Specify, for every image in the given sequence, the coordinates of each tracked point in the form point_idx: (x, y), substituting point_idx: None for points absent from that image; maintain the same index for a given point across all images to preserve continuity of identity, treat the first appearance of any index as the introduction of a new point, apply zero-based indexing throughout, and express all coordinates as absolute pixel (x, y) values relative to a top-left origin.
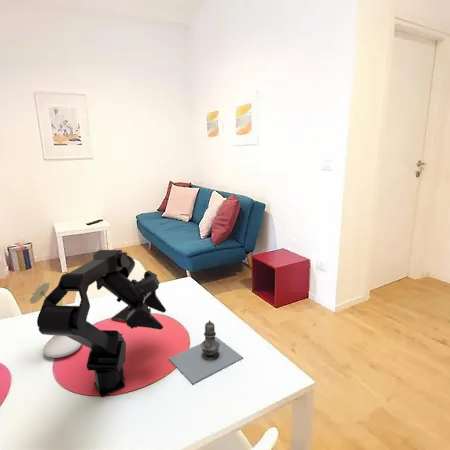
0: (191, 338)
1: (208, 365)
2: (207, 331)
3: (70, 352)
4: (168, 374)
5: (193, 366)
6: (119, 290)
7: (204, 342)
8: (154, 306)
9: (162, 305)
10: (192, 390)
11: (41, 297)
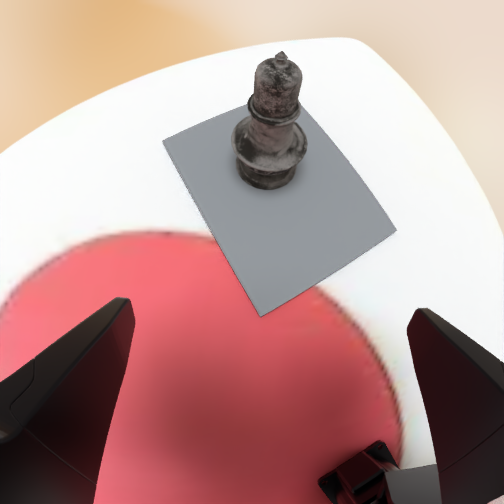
0: (139, 225)
1: (320, 175)
2: (296, 97)
3: None
4: (347, 311)
5: (322, 222)
6: None
7: (264, 151)
8: (95, 423)
9: (88, 329)
10: (412, 234)
11: None
